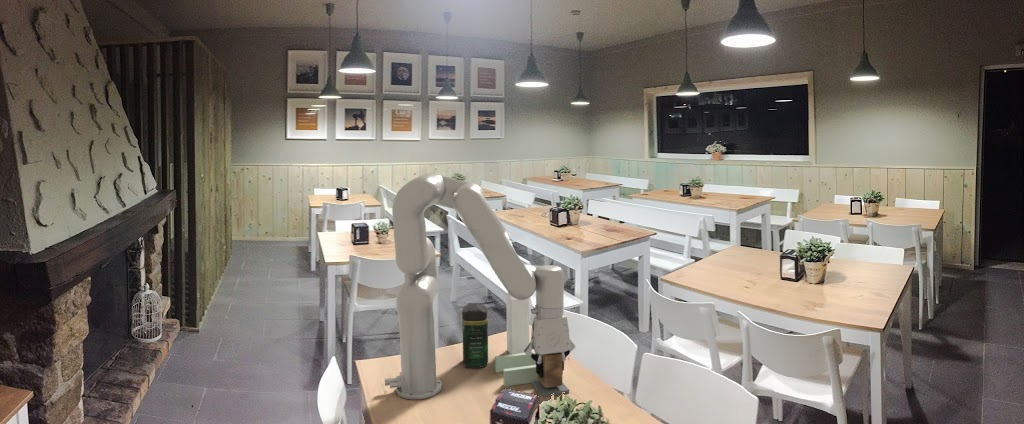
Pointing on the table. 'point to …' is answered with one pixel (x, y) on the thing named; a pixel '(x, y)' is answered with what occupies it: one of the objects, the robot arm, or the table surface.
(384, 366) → the table surface
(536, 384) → the coaster
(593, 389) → the table surface
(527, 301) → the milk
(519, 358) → the pale green u-shaped bracket
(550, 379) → the walnut block
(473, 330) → the coffee jar
